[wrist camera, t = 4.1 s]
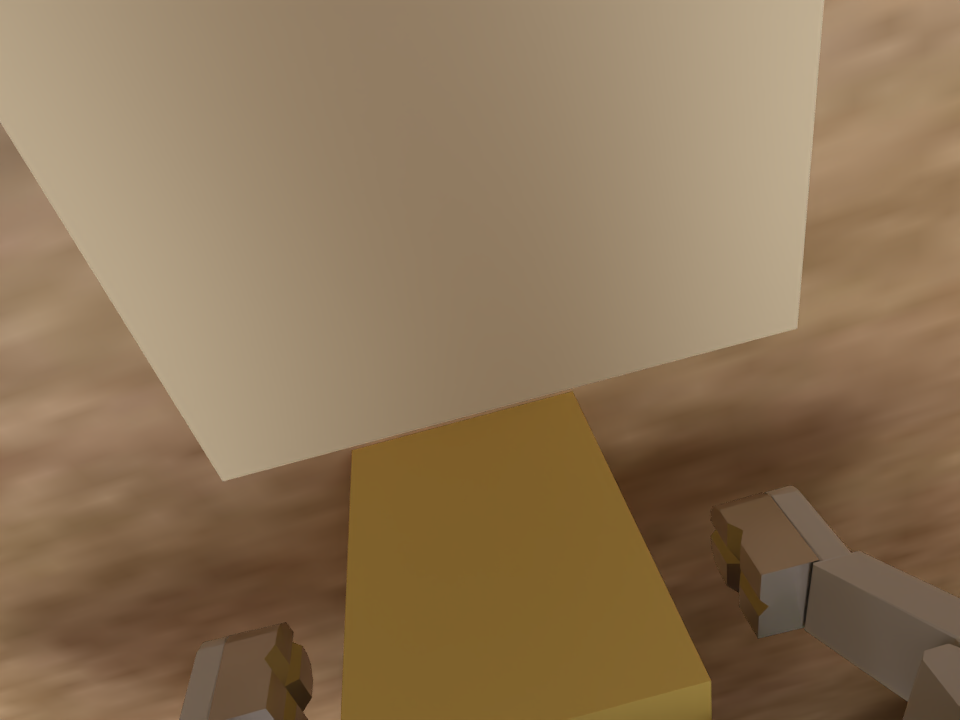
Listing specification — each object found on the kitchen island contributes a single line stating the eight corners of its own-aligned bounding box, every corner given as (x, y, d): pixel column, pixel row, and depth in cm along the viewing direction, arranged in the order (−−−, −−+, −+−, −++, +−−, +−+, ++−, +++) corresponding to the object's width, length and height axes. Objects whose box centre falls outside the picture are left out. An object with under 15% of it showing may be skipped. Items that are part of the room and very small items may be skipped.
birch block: (529, -239, 7) (883, -709, 2) (577, 143, 10) (797, 328, 5) (157, -145, 7) (-329, -404, 2) (299, 216, 10) (222, 480, 5)
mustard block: (571, 390, 12) (710, 679, 7) (596, 539, 15) (713, 833, 10) (352, 449, 12) (338, 782, 7) (413, 588, 15) (435, 909, 10)
